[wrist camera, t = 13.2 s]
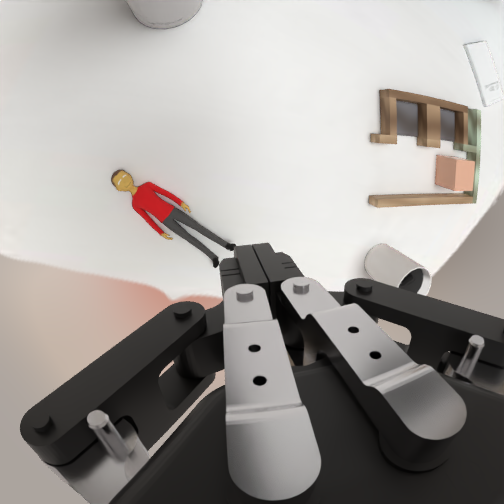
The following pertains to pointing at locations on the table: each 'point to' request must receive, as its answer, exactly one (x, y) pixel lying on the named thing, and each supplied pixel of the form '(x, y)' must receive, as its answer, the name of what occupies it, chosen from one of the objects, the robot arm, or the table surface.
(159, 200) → the person figure
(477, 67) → the external hard drive
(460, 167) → the clay block
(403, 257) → the drinking glass
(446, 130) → the brown frame
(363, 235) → the table surface
